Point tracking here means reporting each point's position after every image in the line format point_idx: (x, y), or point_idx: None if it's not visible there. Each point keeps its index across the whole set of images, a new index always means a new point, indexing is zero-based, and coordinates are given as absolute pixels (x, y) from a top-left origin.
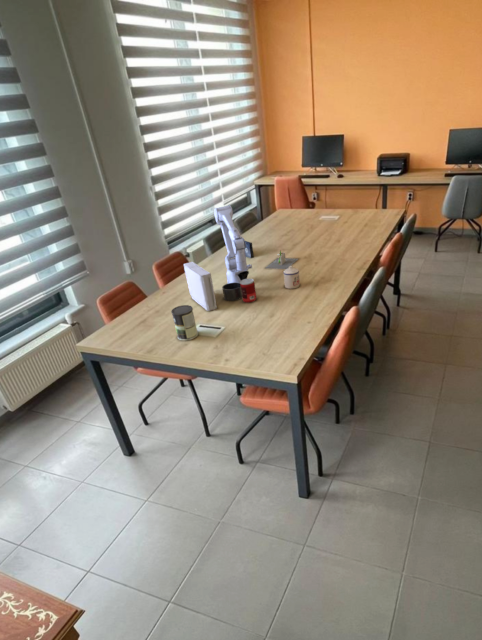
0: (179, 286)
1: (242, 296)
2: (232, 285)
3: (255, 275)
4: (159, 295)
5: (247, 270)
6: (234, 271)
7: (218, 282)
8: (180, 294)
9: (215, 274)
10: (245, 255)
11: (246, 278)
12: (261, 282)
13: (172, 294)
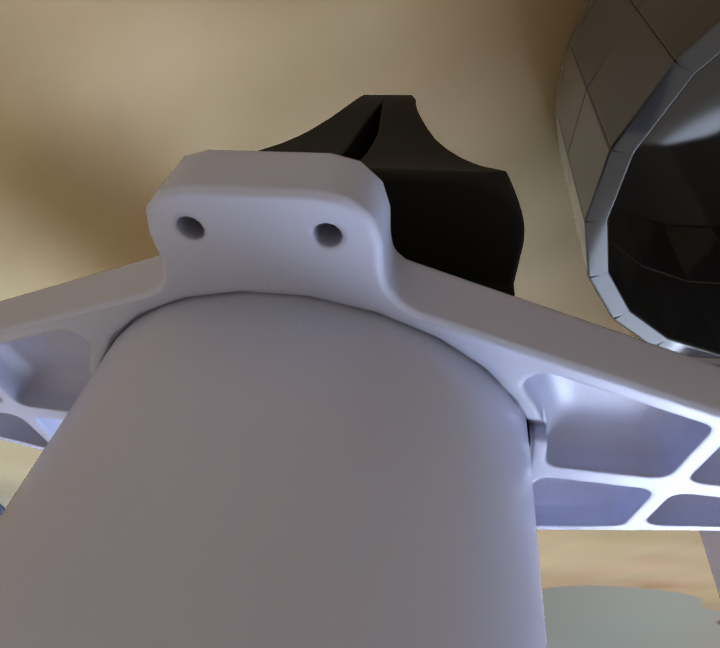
0: None
1: None
2: (616, 266)
3: (8, 287)
4: (702, 591)
5: (263, 156)
6: (690, 524)
7: None
8: (675, 537)
9: None
10: None
11: (332, 131)
12: (5, 61)
13: (678, 561)
